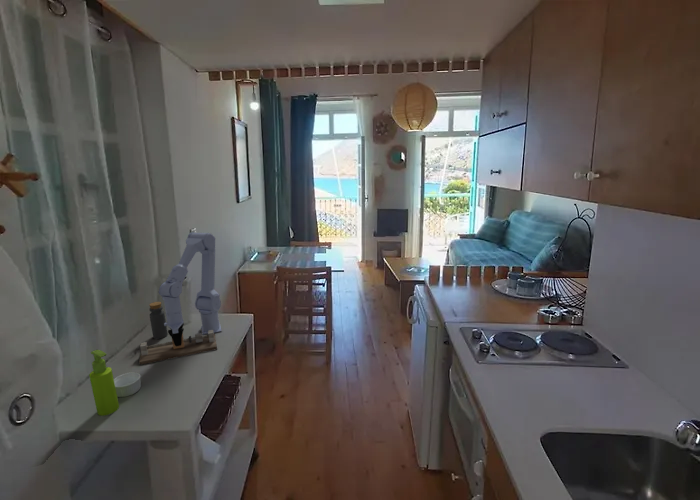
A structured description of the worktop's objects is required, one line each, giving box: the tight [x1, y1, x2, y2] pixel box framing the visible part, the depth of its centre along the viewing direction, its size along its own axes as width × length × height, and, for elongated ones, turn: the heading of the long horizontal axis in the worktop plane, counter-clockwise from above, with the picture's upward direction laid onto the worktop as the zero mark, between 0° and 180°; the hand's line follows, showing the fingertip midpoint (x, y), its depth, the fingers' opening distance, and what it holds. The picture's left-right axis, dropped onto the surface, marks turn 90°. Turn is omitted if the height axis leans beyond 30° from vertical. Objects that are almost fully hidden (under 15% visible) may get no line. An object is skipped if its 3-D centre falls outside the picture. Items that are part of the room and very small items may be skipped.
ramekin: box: [114, 371, 142, 398], centre depth 136 cm, size 9×9×4 cm
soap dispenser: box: [89, 349, 120, 417], centre depth 124 cm, size 6×7×20 cm
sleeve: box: [171, 332, 185, 349], centre depth 163 cm, size 4×4×5 cm
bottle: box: [149, 301, 169, 340], centre depth 176 cm, size 6×6×15 cm
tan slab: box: [138, 330, 218, 366], centre depth 163 cm, size 13×28×5 cm, turn 112°
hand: (178, 343), depth 163 cm, fingers closed on sleeve, 4 cm apart
